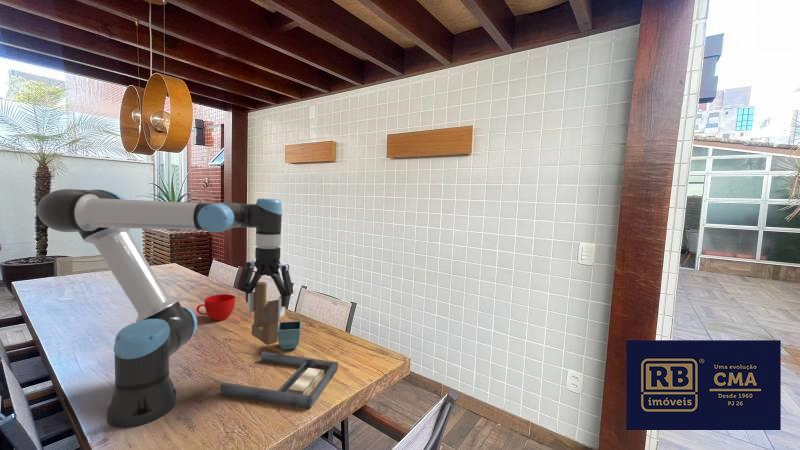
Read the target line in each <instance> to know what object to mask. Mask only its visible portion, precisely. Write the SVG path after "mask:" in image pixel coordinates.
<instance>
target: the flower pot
mask: <svg viewBox="0 0 800 450" xmlns="http://www.w3.org/2000/svg"><path fill="white" fill-rule="evenodd" d="M301 328H302V321H301V320H295V321H280V322H279V321H278V340H277V343H278V345H279V347H280V348H281V350H282V351H283V350H285V351H286V350H294V349H297V347H298V345H299V342H300V338H301V332H302V331H301Z"/></svg>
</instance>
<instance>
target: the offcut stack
mask: <svg viewBox="0 0 800 450" xmlns="http://www.w3.org/2000/svg"><path fill="white" fill-rule="evenodd" d="M324 375H325V370H321V369H314V368H308V369H307V370H306V371H305V372H304V373H303V374H302V375H301V376H300V377H299V378H298V380H297V381H296V382H295V383H294V384H293V385H292V386H291V387H290V388H289V390H288V393H294V394H300V395H307V396H308V394H309V393H311V391H312V390H313V389H314V388H315V386H316V385H317V384H318V383H319V381H320V380H321V379H322V378H323V376H324Z"/></svg>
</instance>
